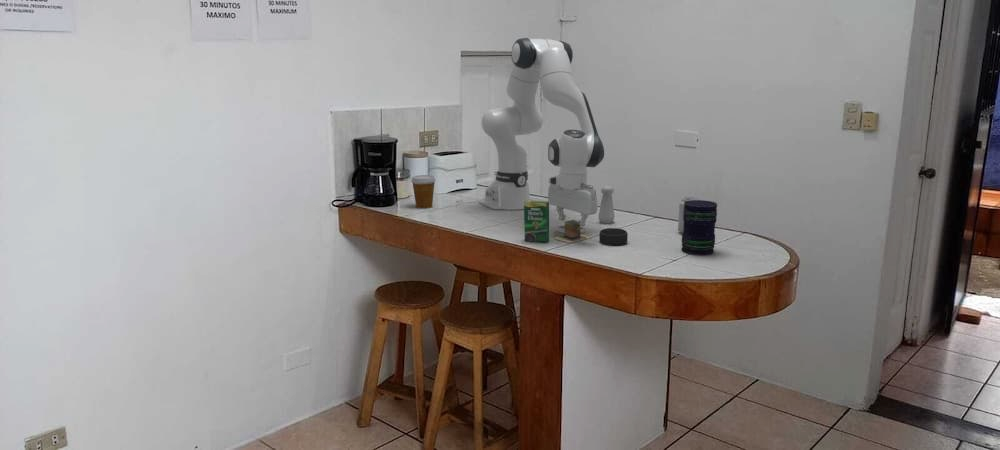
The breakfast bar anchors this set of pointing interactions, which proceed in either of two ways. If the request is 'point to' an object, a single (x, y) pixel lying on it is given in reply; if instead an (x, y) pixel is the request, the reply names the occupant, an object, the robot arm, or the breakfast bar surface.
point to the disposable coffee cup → (423, 190)
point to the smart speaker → (613, 236)
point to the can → (681, 209)
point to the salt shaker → (606, 206)
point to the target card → (572, 240)
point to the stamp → (572, 229)
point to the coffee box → (536, 221)
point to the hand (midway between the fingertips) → (571, 222)
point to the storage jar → (699, 227)
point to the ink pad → (562, 229)
